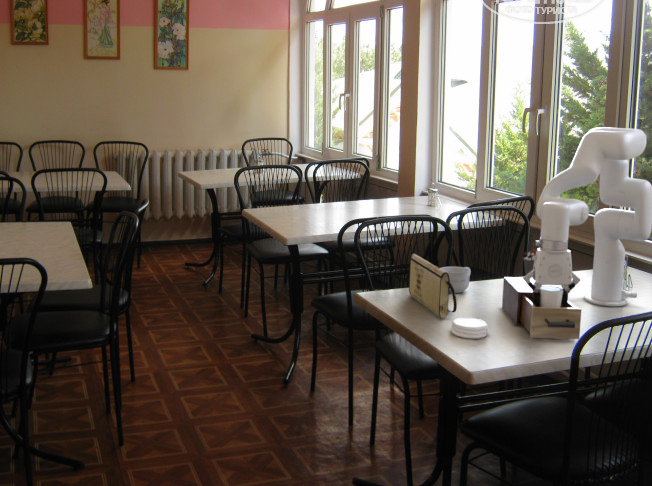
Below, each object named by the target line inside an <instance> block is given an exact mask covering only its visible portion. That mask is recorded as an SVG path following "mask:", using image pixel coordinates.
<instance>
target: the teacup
mask: <svg viewBox="0 0 652 486" xmlns="http://www.w3.org/2000/svg"><path fill="white" fill-rule="evenodd" d="M439 268H440V269H441V270H443V271H445V272H447V273H448V274H449V278H450V283H451V285H452V286H453V289H454V292H455V294H458V293H464V292H465V290H467V289H468V287H469V285H470V276H471V274H472V273H471V272H472V271H471V268H470V267H468V266H464V267H463V266H443V267H439ZM450 293H451V290H450V291H449V294H450ZM451 294H452V293H451Z"/></svg>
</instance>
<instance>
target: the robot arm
mask: <svg viewBox="0 0 652 486" xmlns="http://www.w3.org/2000/svg"><path fill="white" fill-rule="evenodd" d="M647 141H648V140H647V135H646V134H645V132H644V131H643V129H640V128H627V127H625V128H624V127H610V126H609V127H608V126H607V127H606V126H603V127H601V126H599V127H593V128H591V129H589V130H588V132H586V133H584V135H582V138H581V140H580V142H579V145H578V147H577V149H576V152H575V153H574V156H573V158H572V161H571V163H570V165H569V167H568V168H567V169H565V170H562V171H561V172H559V173H558V174H557V175H555V176H554V177H553V178H551V179H550V180H549V181H548V182H547V183H546V184H545V186H544V187H543V189H542V191H541V194H540V196H539V198H538V200H537V203H536V211H535V212H536V215H537V216H536V217H538V219H539V220H541V221H540V237H539V239H538V240H535V241H534V245H535V246H538V247H539V248H538V247H537V248H536V249H537V250H536V251H537V252H536V256H535V260H534V266H533V270H532V271H531V272H529V273H528V274H525V275H524V276H523V277H522V278H523V280H524V281H525V282H526V283H527V285H528V286H529V287H530V288H531V289H532V290H533V298H532V301H533V302H534V304H535V305H536V306H539V303H540V293H539V289H540V288H541V286H542V285H559V286H560V287H561V288H562V289H563V295H562V301H561V305H562V306H566V303H567V302H568V301H569V294H570V293H571V291H572V290H573V289H574V288H576V285H578V284H579V283H580V282H581V278H579V277H578V276H577V275H576V274H575V273H574V272H573V262H572V259H573V258H572V253H571V251H572V250H570V249H568V247H569V233H570V227H571V226H580V225H583V224H584V223H585V222H586V221H587V219H588V217H589V215H590V209H589V206H588V204H587V203H586V202H585V201H583V200H580V199H576V198H566V197H559V196H560V195H562V194H563V193H564V192H567V191H570V190H572V189H577V188H580V187H584V186H589V185H590V184H592V183H595V182H596V181H597V180H598V179H599V189H598V190H599V200H600V202H601V203H602V204H604V205H606V206H613V207H620V208H630V209H633V210H626V209H620V208H619V209H618V208H601V209H599V210H598V211H597V212H596V213H595V214H594V216H593V230H594V231H593V232H594V233H593V234H594V250H593V261H592V262H593V263H592V265H593V266H592V273H591V274H592V276H591V286H590V288H591V289H590V293H588V294H586V295H585V298H584V299H585V301H587V302H588V303H591V304H593V305H597V306H603V307H622V306H625V305H626V304H627V300H626V299H627V298H630V299H636V298H637V297H638V293H637V292H636V291H630V290H625V289H623V284H624V275H625V273H624V272H625V261H626V249H625V246H624V244H623V243H622V242H621V240H627V241H634V242H645V241H647V240H648V239H649V238H650V237H651V233H652V184H651V182H650V181H649V180H647V179H644V178H643V179H642V178H633V177H630V176H629V166H630V165H629V160H632V159H634V158H638V157H639V156H641V155H642V154H643V153H644V152H645V149H646V147H647ZM532 277H533V280H535V283H534V284H532V283H531V281H530V279H531V278H532Z"/></svg>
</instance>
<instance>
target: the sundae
mask: <svg viewBox="0 0 652 486" xmlns="http://www.w3.org/2000/svg"><path fill="white" fill-rule="evenodd" d="M538 248H540V247H539V246H538V245H536V248H535V249H532V251H531V250H530V251H528V252H526V251H524V253H523V255H524V257H523V256H522V258H521V259H522V260H523V264H524V272H525V275H527V274H528V273H529V272H531V271H532V270H533V266H534V260H535V256H536V252H537V249H538ZM532 278H533V277H532Z"/></svg>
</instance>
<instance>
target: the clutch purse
mask: <svg viewBox="0 0 652 486" xmlns="http://www.w3.org/2000/svg"><path fill="white" fill-rule="evenodd" d="M409 259H410V260H409V273H408V274H409V275H408V277H409V278H408V293H409V295H410V296H411V297H412V298H414V299H415V300H416V301H418V302H419V303H421V304H422V305H423V306H424V307H426V308H427V309H428V310H430V311H432V312H433V313H434V314H435V315H437V316H438V317H439V318H440V319H442V320H444V319H446V317H447V315H448V313H456V311H457V309H458V304H457V302H458V301H457V297H456V293H455V292H454V289H453V286H452V285H451V283H450V278H449V274H448V273H447V272H445V271H443V270H441V269H440V268H441V267H438V266H437V265H434V264H433V263H431V262H429V261H428V260H426V259H424V258H422V257H421V256H419V255H418V254H417V253H412V254H411V255H410V258H409ZM450 290H451V296H452V303H453V308H452V311H450V310H449V296H450V292H449V291H450Z"/></svg>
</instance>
